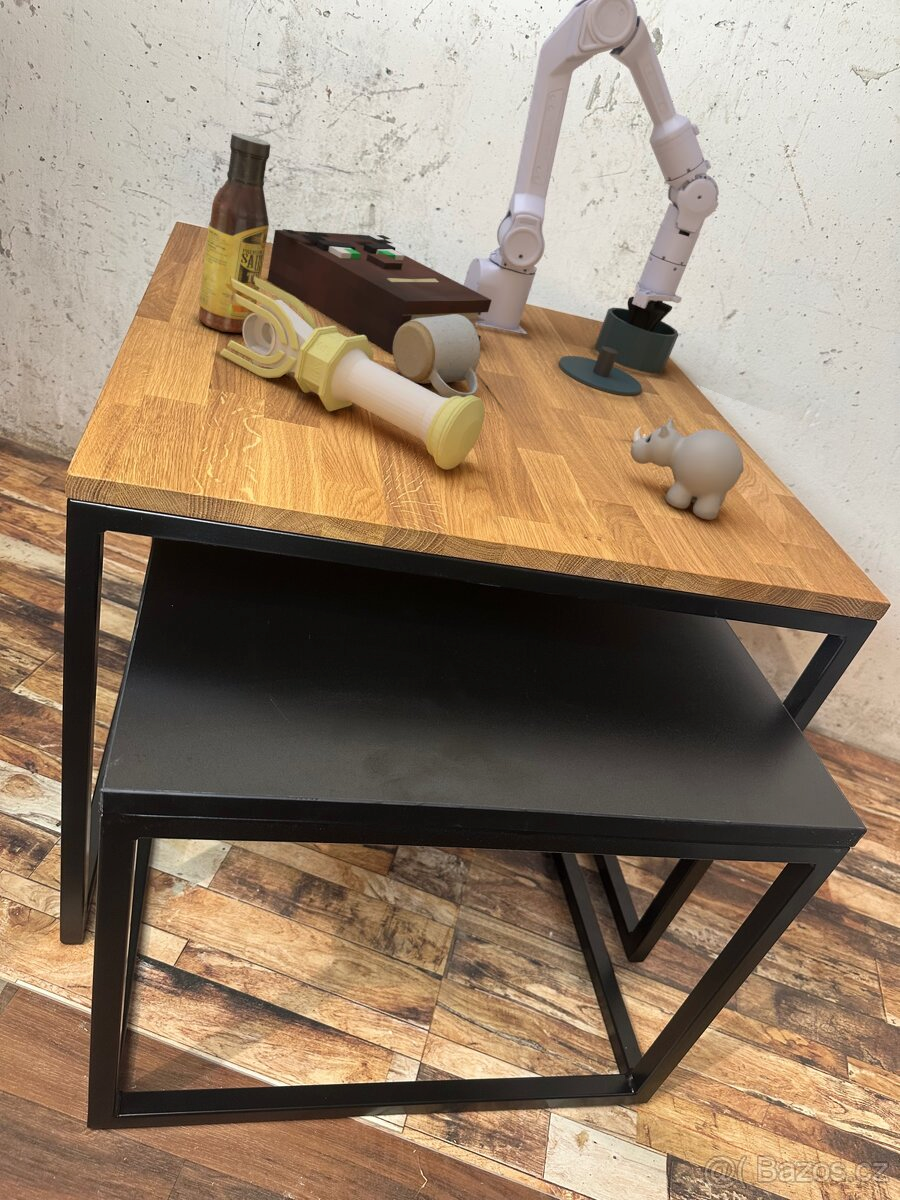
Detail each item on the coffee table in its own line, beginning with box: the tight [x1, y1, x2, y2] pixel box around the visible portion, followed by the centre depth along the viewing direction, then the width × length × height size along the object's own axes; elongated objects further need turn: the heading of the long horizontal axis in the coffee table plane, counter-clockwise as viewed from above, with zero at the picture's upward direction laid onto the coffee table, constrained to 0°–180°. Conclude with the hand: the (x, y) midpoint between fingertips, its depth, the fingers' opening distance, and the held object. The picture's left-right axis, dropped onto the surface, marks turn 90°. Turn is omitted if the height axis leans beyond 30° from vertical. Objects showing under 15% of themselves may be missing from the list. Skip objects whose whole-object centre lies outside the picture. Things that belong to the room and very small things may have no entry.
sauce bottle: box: [198, 132, 271, 334], centre depth 95 cm, size 7×6×20 cm
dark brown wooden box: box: [266, 228, 492, 356], centre depth 118 cm, size 19×8×30 cm
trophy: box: [219, 276, 486, 470], centre depth 87 cm, size 8×8×30 cm
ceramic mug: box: [392, 314, 481, 398], centre depth 101 cm, size 11×8×8 cm
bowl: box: [594, 307, 679, 374], centre depth 134 cm, size 11×11×6 cm
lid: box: [558, 347, 643, 397], centre depth 122 cm, size 12×12×5 cm
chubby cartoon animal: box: [630, 418, 745, 521], centre depth 92 cm, size 7×12×8 cm, turn 62°
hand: (633, 347), depth 135 cm, fingers closed
